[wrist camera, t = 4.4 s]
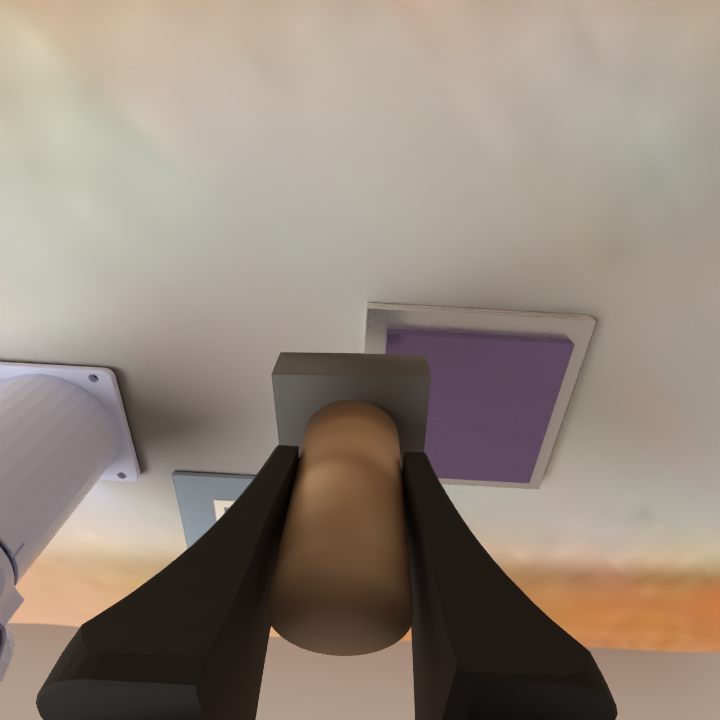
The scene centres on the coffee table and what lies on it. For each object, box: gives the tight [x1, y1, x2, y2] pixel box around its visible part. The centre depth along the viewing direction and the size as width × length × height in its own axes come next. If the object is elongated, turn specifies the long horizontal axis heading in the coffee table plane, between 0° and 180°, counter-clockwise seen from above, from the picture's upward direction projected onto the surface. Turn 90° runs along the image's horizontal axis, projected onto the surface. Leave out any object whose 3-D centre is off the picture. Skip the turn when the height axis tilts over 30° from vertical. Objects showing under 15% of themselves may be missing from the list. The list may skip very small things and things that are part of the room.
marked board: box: [172, 471, 255, 548], centre depth 30 cm, size 14×13×1 cm
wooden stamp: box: [266, 352, 431, 656], centre depth 13 cm, size 5×5×8 cm
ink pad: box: [365, 302, 596, 489], centre depth 23 cm, size 11×11×1 cm
